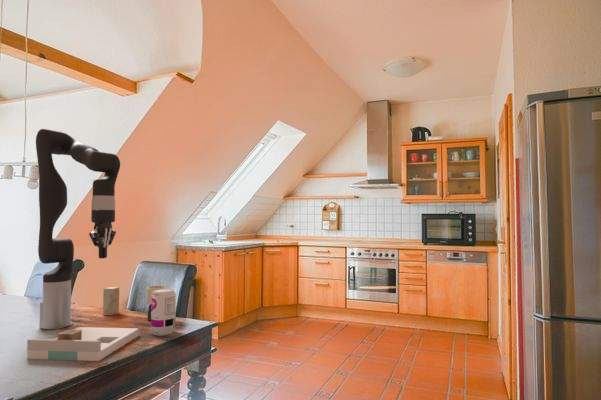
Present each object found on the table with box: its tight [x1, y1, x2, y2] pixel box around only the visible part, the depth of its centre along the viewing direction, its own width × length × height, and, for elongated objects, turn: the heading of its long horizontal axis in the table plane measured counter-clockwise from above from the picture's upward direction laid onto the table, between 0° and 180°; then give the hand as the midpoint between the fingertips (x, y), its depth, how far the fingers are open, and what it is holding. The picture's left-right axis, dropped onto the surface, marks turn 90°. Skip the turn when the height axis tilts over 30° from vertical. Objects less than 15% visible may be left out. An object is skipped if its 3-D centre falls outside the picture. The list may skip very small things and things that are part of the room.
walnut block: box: [57, 329, 82, 340], centre depth 120 cm, size 4×4×4 cm
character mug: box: [145, 285, 166, 320], centre depth 161 cm, size 11×7×13 cm, turn 44°
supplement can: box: [150, 288, 177, 337], centre depth 143 cm, size 8×8×15 cm
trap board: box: [26, 326, 140, 362], centre depth 128 cm, size 22×24×6 cm
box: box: [102, 286, 120, 316], centre depth 171 cm, size 5×4×11 cm
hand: (102, 258), depth 140 cm, fingers closed
